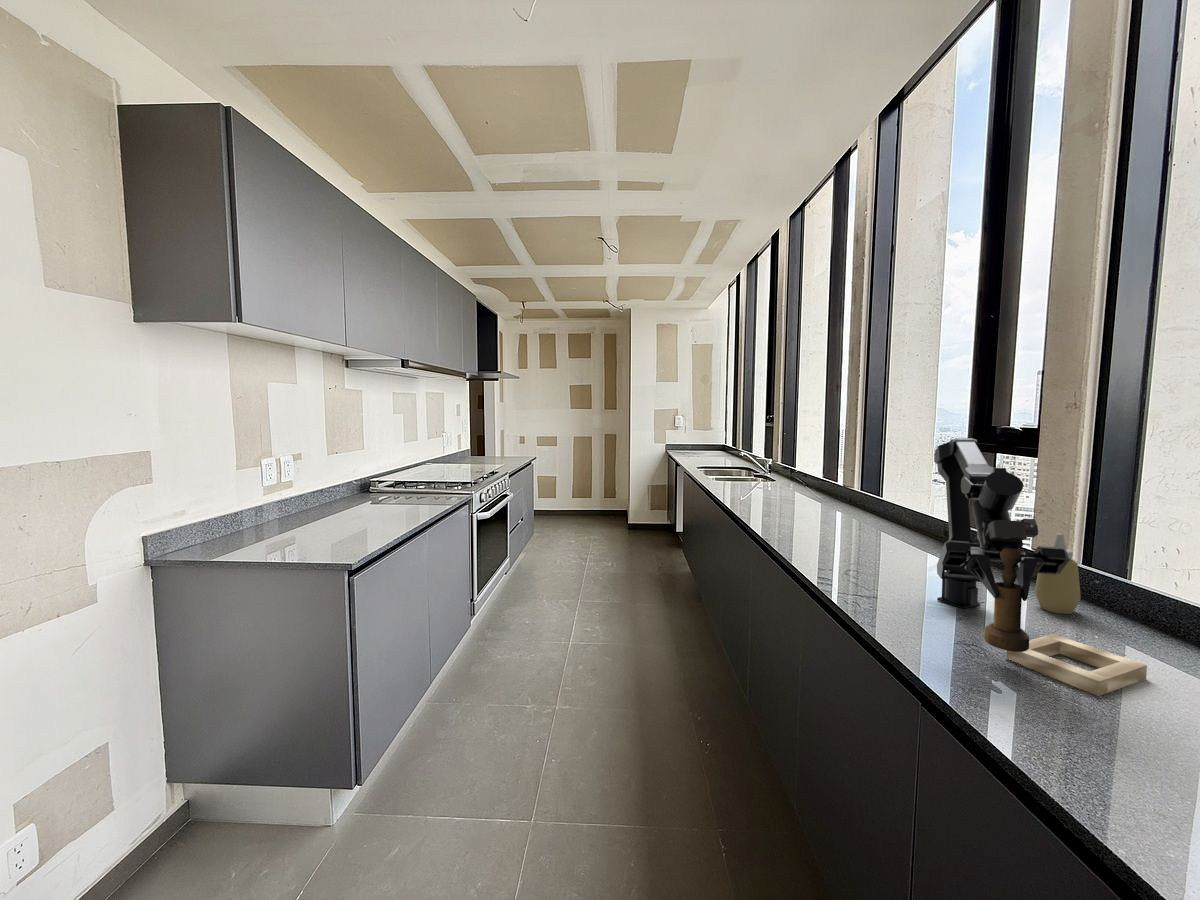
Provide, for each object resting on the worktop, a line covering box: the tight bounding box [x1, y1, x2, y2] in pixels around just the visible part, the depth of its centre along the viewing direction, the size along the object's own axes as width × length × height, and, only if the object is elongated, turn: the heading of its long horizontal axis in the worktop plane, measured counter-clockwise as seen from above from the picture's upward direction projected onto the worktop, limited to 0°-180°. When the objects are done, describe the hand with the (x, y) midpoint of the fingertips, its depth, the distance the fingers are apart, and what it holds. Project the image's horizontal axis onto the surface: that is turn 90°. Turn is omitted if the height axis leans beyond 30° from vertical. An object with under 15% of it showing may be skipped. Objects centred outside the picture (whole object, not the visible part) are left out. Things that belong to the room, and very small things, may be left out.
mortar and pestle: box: [983, 548, 1030, 652], centre depth 95 cm, size 7×6×18 cm
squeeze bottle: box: [1034, 533, 1082, 615], centre depth 121 cm, size 8×8×18 cm
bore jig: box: [1005, 633, 1148, 697], centre depth 95 cm, size 14×14×2 cm
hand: (1010, 598), depth 94 cm, fingers closed on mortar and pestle, 4 cm apart
